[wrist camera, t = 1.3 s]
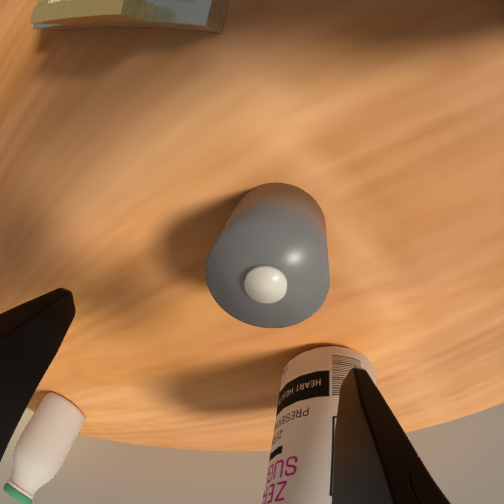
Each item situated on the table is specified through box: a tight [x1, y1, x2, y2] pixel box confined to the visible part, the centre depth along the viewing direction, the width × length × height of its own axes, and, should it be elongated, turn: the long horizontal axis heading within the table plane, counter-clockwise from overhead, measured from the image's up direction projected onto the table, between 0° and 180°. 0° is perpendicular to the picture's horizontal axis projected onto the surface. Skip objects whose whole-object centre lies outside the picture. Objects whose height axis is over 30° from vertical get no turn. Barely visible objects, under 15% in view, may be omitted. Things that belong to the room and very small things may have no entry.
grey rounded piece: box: [206, 183, 330, 328], centre depth 18 cm, size 6×6×6 cm
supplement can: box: [262, 346, 377, 504], centre depth 20 cm, size 8×8×15 cm
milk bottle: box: [3, 392, 85, 504], centre depth 33 cm, size 8×8×20 cm
